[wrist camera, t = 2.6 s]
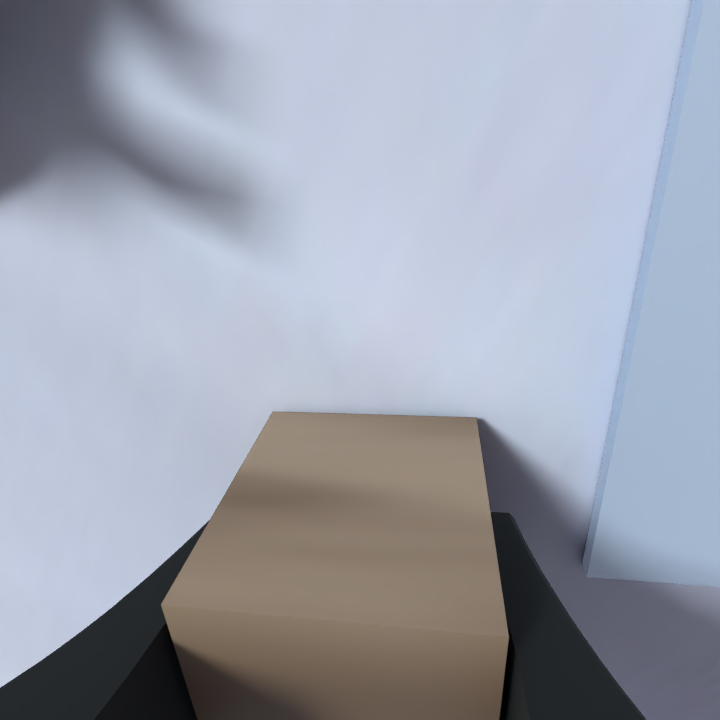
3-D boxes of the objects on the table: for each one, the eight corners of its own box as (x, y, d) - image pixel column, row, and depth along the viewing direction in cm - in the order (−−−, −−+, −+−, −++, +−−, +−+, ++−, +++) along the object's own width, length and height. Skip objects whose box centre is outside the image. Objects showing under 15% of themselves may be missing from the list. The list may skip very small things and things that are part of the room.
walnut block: (467, 571, 12) (486, 825, 8) (293, 558, 13) (218, 785, 8) (476, 417, 10) (509, 637, 6) (272, 411, 11) (161, 604, 6)
